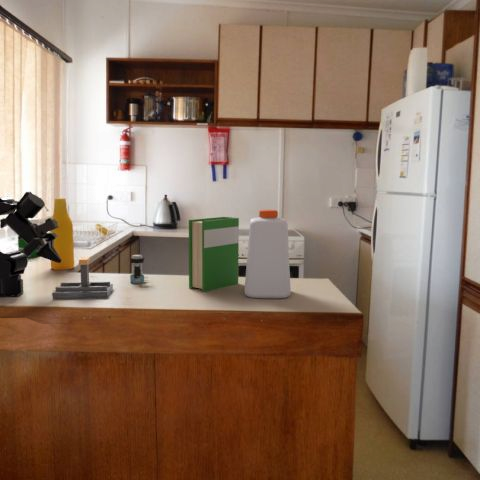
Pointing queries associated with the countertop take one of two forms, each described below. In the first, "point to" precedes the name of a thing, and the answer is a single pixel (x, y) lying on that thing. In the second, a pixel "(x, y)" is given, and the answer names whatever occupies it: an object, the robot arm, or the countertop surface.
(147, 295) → the countertop surface
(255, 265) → the plastic bottle
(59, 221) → the beer bottle
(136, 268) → the push button
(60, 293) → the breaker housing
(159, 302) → the countertop surface
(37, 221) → the milk carton
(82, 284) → the lever
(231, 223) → the hardback book
